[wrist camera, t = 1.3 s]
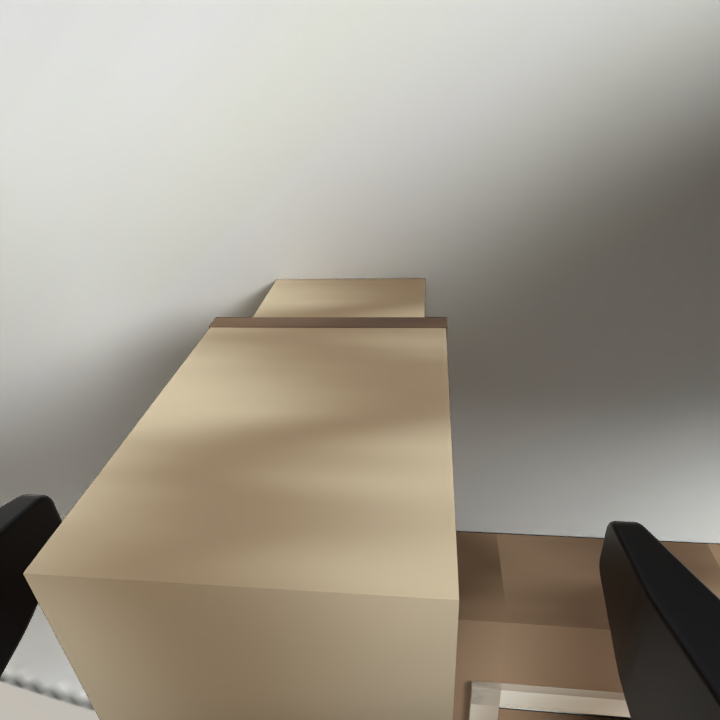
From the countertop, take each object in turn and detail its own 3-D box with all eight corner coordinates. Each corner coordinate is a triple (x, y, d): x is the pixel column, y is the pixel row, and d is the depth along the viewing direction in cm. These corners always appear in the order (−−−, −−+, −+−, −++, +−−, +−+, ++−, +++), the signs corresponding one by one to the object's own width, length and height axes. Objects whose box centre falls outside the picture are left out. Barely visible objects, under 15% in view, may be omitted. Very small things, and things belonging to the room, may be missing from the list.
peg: (443, 261, 13) (461, 598, 5) (439, 417, 15) (449, 817, 7) (257, 263, 13) (21, 572, 6) (280, 413, 16) (132, 783, 8)
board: (897, 552, 16) (996, 662, 13) (757, 779, 22) (803, 885, 19) (334, 526, 18) (316, 616, 15) (357, 741, 24) (347, 832, 21)
